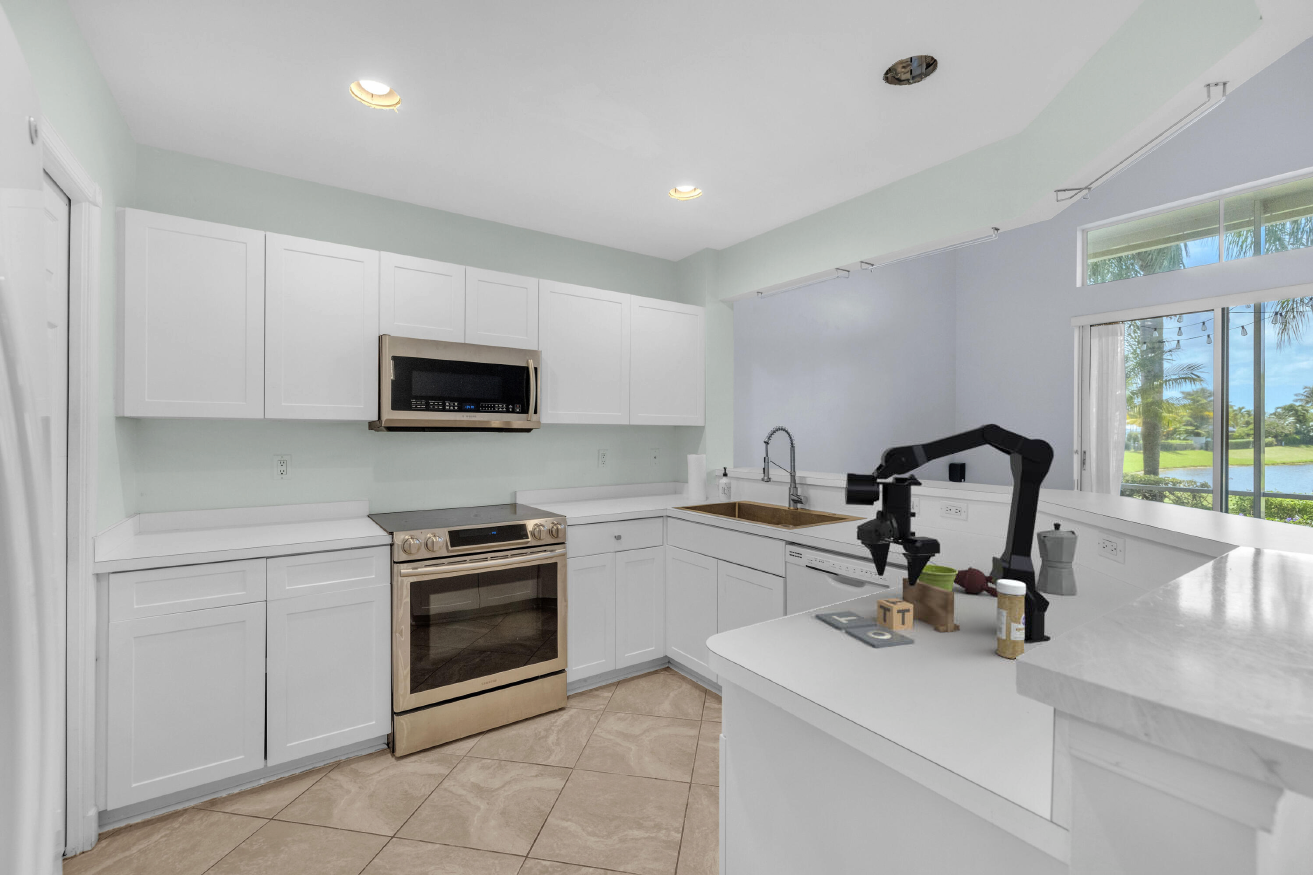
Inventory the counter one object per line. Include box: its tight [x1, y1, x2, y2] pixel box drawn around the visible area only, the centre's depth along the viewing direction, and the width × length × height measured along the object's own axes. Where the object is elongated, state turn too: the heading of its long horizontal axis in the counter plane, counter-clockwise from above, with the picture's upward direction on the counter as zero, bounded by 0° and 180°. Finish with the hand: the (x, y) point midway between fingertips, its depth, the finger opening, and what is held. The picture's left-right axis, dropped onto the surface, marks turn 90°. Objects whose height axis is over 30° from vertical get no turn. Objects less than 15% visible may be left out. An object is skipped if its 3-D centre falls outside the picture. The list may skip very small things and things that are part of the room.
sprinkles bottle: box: [995, 579, 1026, 660], centre depth 105 cm, size 5×5×14 cm
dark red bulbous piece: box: [953, 566, 998, 598], centre depth 150 cm, size 7×7×15 cm
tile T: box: [814, 610, 878, 631], centre depth 124 cm, size 9×9×1 cm
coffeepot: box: [1036, 522, 1078, 597], centre depth 153 cm, size 15×9×18 cm, turn 118°
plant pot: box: [917, 564, 958, 592], centre depth 138 cm, size 9×9×9 cm
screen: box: [901, 577, 961, 633], centre depth 124 cm, size 13×5×8 cm, turn 18°
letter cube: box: [876, 598, 914, 631], centre depth 122 cm, size 5×5×5 cm
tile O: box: [844, 625, 915, 649], centre depth 114 cm, size 9×9×1 cm
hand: (895, 580), depth 122 cm, fingers open, 9 cm apart
